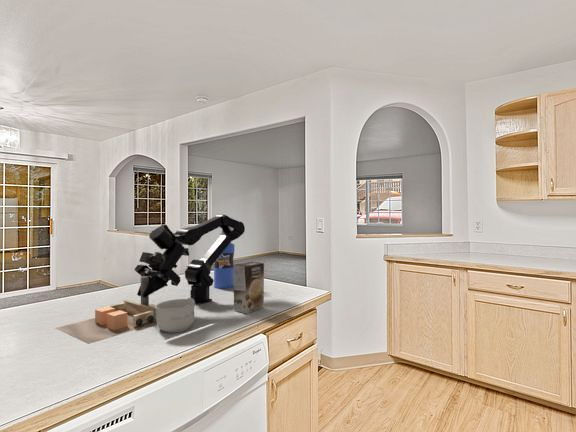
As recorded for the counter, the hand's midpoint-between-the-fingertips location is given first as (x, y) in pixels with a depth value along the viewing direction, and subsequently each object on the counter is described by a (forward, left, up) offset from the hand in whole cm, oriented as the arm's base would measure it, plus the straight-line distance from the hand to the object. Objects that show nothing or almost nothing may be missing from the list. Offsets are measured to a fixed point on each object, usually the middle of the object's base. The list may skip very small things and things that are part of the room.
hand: (140, 296), depth 110 cm
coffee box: (-27, +22, -7) cm, 36 cm away
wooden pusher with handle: (+2, 0, -6) cm, 7 cm away
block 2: (+10, +3, -6) cm, 12 cm away
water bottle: (-47, -11, -7) cm, 49 cm away
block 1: (+10, -4, -6) cm, 12 cm away
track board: (+5, 0, -7) cm, 9 cm away
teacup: (-1, +18, -7) cm, 20 cm away
